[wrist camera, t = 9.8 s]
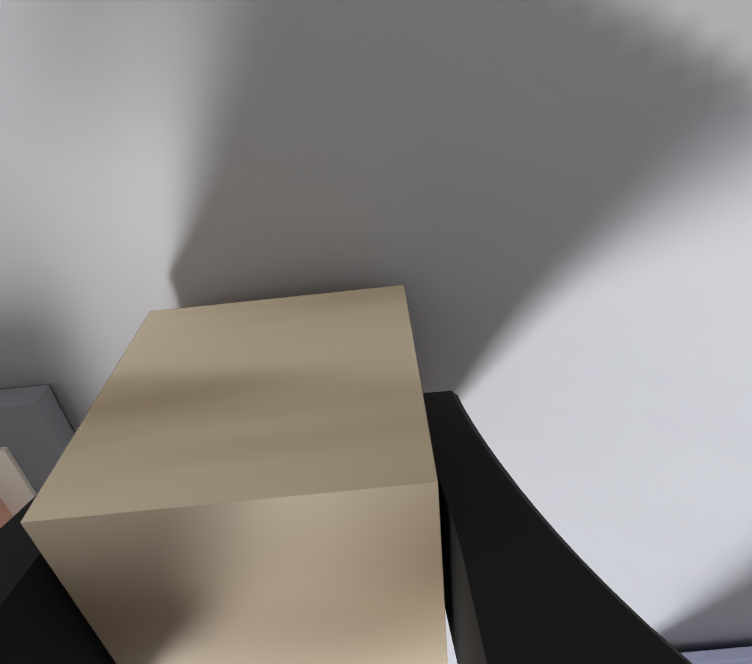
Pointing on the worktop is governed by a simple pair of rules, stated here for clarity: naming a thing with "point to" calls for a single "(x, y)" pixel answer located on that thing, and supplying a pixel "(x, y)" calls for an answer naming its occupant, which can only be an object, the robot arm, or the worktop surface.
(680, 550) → the worktop surface
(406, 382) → the maple cube
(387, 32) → the worktop surface
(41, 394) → the build plate
